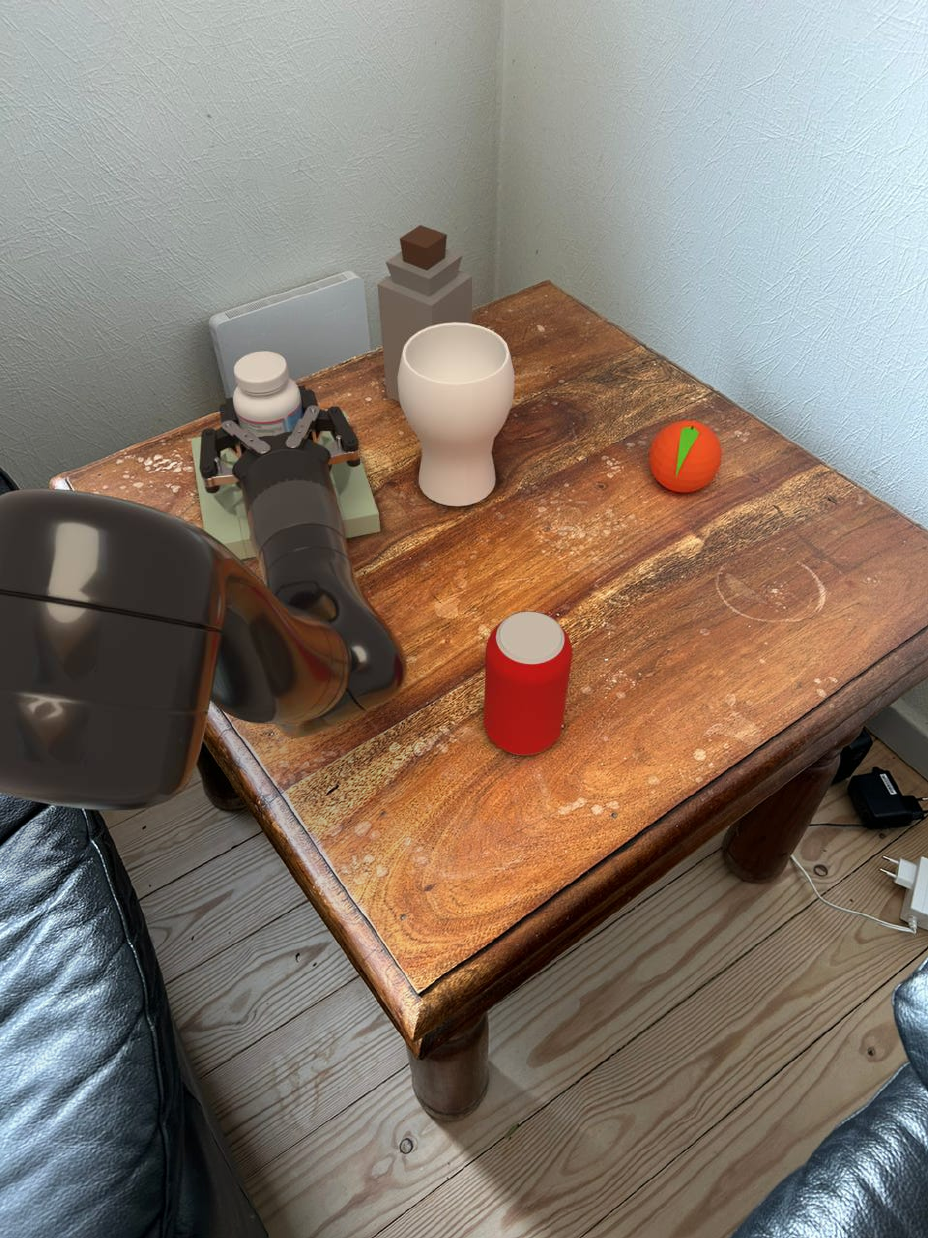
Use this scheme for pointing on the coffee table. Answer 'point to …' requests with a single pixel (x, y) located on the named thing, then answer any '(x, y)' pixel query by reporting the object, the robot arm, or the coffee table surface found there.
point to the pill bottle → (266, 395)
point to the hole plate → (229, 514)
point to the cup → (456, 407)
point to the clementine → (685, 456)
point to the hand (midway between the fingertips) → (266, 399)
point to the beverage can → (526, 682)
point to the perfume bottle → (420, 295)
